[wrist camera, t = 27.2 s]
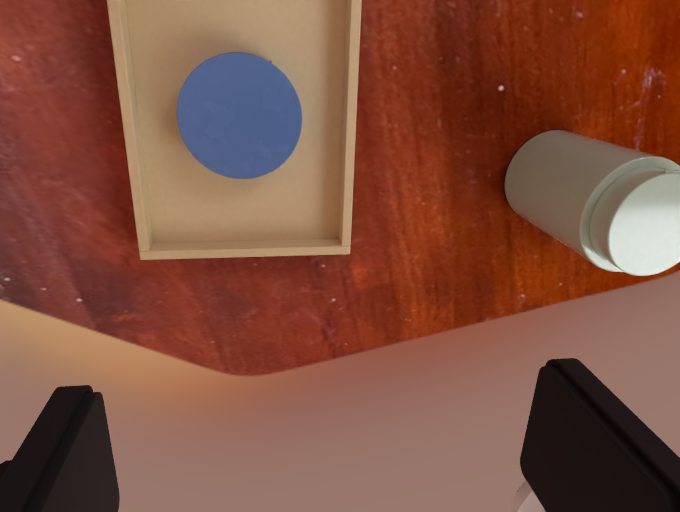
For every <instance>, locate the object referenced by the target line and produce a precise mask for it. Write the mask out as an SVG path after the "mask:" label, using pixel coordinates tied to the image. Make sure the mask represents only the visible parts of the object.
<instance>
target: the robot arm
mask: <svg viewBox="0 0 680 512" xmlns="http://www.w3.org/2000/svg"><path fill="white" fill-rule="evenodd" d="M520 466H521V470H522V473H523V475H524V477H525V479H526V481H527V482H528V484H529V485H530V487H531V489H532V490H533V492H534V493H535V495H536V497H537V498H538V500H539V501H540V503H541V505H542V506H543V508H544V510H545V512H680V458H679V457H678V456H677V455H676V454H675V453H674V452H673V451H672V450H671V449H670V448H669V447H668V446H667V445H666V444H665V443H664V442H663V441H662V440H661V439H660V438H659V437H658V436H656V434H655V433H654V432H653V431H651V430H650V429H649V428H648V427H647V426H646V425H645V424H644V423H643V422H642V421H641V420H640V419H639V418H638V417H637V416H636V415H635V414H634V413H633V412H632V411H631V410H630V409H629V408H628V407H627V406H626V405H624V403H623V402H622V401H620V400H619V399H618V398H617V397H616V396H615V395H614V394H613V393H612V392H611V391H610V390H609V389H608V388H607V387H606V386H605V385H604V384H603V383H602V382H601V381H600V380H599V379H598V378H597V377H596V376H595V375H594V374H593V373H592V372H591V371H590V370H589V369H587V368H586V367H585V366H584V365H583V364H582V363H581V362H580V361H579V360H577V359H574V358H568V359H551V360H549V361H548V362H547V363H546V365H545V366H544V367H541V369H540V371H539V374H538V379H537V383H536V388H535V393H534V397H533V402H532V406H531V411H530V416H529V420H528V425H527V430H526V434H525V439H524V443H523V448H522V453H521V457H520ZM118 508H119V488H118V483H117V477H116V471H115V465H114V459H113V454H112V448H111V442H110V436H109V430H108V424H107V418H106V413H105V407H104V401H103V397H102V394H101V393H100V392H93V389H92V388H91V386H89V385H83V386H65V387H58V388H57V389H56V390H55V391H54V392H53V394H52V396H51V397H50V399H49V401H48V402H47V404H46V405H45V407H44V409H43V410H42V412H41V414H40V415H39V417H38V419H37V420H36V422H35V424H34V425H33V427H32V428H31V430H30V432H29V433H28V435H27V436H26V438H25V440H24V441H23V443H22V445H21V446H20V448H19V450H18V451H17V453H16V455H15V456H14V458H13V459H12V460H10V461H5V462H3V463H2V464H0V512H118Z"/></svg>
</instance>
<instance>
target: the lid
mask: <svg viewBox="0 0 680 512" xmlns="http://www.w3.org/2000/svg"><path fill="white" fill-rule="evenodd" d="M177 121H178V127H179V131H180V134H181V136H182V139H183V141H184V143H185V145H186V146H187V148H188V150H189V151H190V152H191V154H192V155H193V156H194V157H195V158H196V159H197V160H198V161H199V162H200V163H201V164H202V165H204V166H205V167H206V168H208V169H209V170H211V171H213V172H215V173H217V174H219V175H222V176H225V177H229V178H234V179H252V178H257V177H260V176H263V175H266V174H268V173H270V172H272V171H274V170H276V169H277V168H279V167H280V166H281V165H282V164H283V163H284V162H285V161H286V160H287V159H288V158H289V157H290V155H291V154H292V152H293V151H294V149H295V147H296V145H297V143H298V140H299V137H300V134H301V129H302V110H301V105H300V101H299V98H298V95H297V93H296V91H295V88H294V87H293V85H292V83H291V82H290V80H289V79H288V78H287V77H286V75H285V74H284V73H283V72H282V71H281V70H280V69H279V68H278V67H277V66H275V65H274V64H272V61H271V60H270V61H268V60H266V59H264V58H262V57H260V56H257V55H254V54H250V53H244V52H230V53H224V54H220V55H217V56H214V57H212V58H210V59H208V60H206V61H204V62H203V63H201V64H200V65H199V66H197V67H196V68H195V69H194V70H193V71H192V72H191V74H190V75H189V76H188V77H187V79H186V81H185V82H184V84H183V86H182V89H181V91H180V94H179V98H178V103H177Z"/></svg>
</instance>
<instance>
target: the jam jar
mask: <svg viewBox="0 0 680 512" xmlns="http://www.w3.org/2000/svg"><path fill="white" fill-rule="evenodd" d="M505 193H506V197H507V201H508V203H509V205H510V206H511V208H512V209H513V211H514V212H515V213H516V214H518V215H519V216H520V217H522V218H523V219H525V220H526V221H528V222H529V223H531V224H533V225H534V226H536V227H537V228H539V229H540V230H542V231H543V232H545V233H546V234H548V235H550V236H551V237H553V238H554V239H556V240H557V241H559V242H560V243H562V244H563V245H565V246H567V247H568V248H570V249H571V250H573V251H574V252H576V253H577V254H579V255H580V256H582V257H584V258H585V259H587V260H588V261H590V262H591V263H593V264H594V265H596V266H598V267H600V268H601V269H604V270H607V271H613V272H625V273H628V274H631V275H636V276H647V275H653V274H657V273H660V272H663V271H665V270H667V269H669V268H671V267H672V266H674V265H676V264H677V263H678V262H680V166H679V165H678V164H676V163H675V162H673V161H671V160H669V159H667V158H663V157H660V156H656V155H652V154H649V153H645V152H642V151H638V150H634V149H631V148H627V147H623V146H620V145H616V144H613V143H609V142H605V141H602V140H598V139H594V138H591V137H587V136H584V135H580V134H576V133H573V132H569V131H565V130H552V131H547V132H544V133H541V134H539V135H537V136H535V137H533V138H531V139H530V140H528V141H527V142H526V143H525V144H524V145H523V146H522V147H521V148H520V149H519V150H518V151H517V152H516V154H515V155H514V157H513V158H512V160H511V162H510V164H509V166H508V169H507V173H506V177H505Z"/></svg>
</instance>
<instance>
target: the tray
mask: <svg viewBox="0 0 680 512" xmlns="http://www.w3.org/2000/svg"><path fill="white" fill-rule="evenodd" d="M361 3H362V0H107V7H108V14H109V22H110V30H111V38H112V45H113V53H114V61H115V69H116V76H117V84H118V92H119V100H120V107H121V115H122V123H123V131H124V138H125V146H126V154H127V162H128V169H129V177H130V185H131V193H132V200H133V208H134V216H135V224H136V231H137V239H138V247H139V255H140V260H156V259H192V258H228V257H264V256H299V255H335V254H350V245H351V223H352V201H353V179H354V157H355V135H356V113H357V91H358V69H359V47H360V25H361ZM230 52H244V53H250V54H254V55H257V56H260V57H262V58H264V59H266V60H268V61H270V60H271V61H272V64H274V65H275V66H277V67H278V68H279V69H280V70H281V71H282V72H283V73H284V74H285V75H286V77H287V78H288V79H289V80H290V82H291V83H292V85H293V87H294V88H295V91H296V93H297V95H298V98H299V101H300V105H301V110H302V129H301V134H300V137H299V140H298V143H297V145H296V147H295V149H294V151H293V152H292V154H291V155H290V157H289V158H288V159H287V160H286V161H285V162H284V163H283V164H282V165H281V166H280V167H279V168H277V169H276V170H274V171H272V172H270V173H268V174H266V175H263V176H260V177H257V178H252V179H234V178H229V177H225V176H222V175H219V174H217V173H215V172H213V171H211V170H209V169H208V168H206V167H205V166H204V165H202V164H201V163H200V162H199V161H198V160H197V159H196V158H195V157H194V156H193V155H192V154H191V152H190V151H189V150H188V148H187V146H186V145H185V143H184V141H183V139H182V136H181V134H180V131H179V127H178V121H177V103H178V98H179V94H180V91H181V89H182V86H183V84H184V82H185V81H186V79H187V77H188V76H189V75H190V74H191V72H192V71H193V70H194V69H195V68H196V67H197V66H199V65H200V64H201V63H203V62H204V61H206V60H208V59H210V58H212V57H214V56H217V55H220V54H224V53H230Z"/></svg>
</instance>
